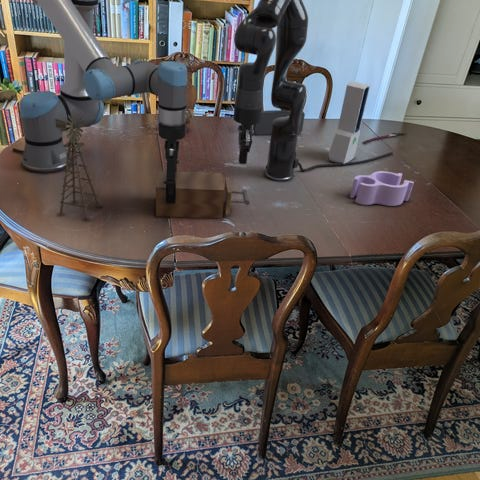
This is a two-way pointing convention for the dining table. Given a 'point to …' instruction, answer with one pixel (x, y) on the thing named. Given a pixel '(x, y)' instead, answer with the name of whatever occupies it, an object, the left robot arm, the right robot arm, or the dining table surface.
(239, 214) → the dining table surface
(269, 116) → the handheld gaming console
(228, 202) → the drawer
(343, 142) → the electronic device
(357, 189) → the clip
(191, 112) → the lion figurine
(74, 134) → the miniature windmill
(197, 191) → the cabinet
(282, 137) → the right robot arm
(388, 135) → the sword
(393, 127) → the dining table surface
